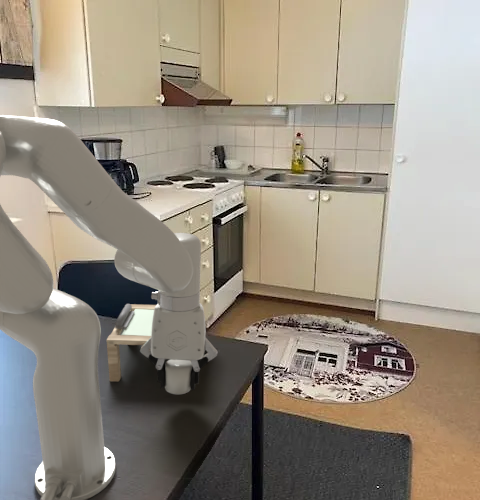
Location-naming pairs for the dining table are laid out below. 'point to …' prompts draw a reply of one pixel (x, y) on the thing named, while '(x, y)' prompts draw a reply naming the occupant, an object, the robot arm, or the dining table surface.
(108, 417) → the dining table surface
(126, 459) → the dining table surface
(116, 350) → the trapdoor frame
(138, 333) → the trapdoor
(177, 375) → the stone
